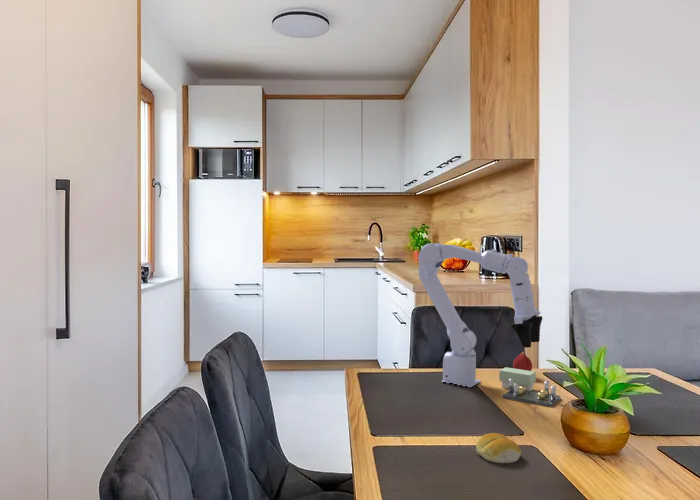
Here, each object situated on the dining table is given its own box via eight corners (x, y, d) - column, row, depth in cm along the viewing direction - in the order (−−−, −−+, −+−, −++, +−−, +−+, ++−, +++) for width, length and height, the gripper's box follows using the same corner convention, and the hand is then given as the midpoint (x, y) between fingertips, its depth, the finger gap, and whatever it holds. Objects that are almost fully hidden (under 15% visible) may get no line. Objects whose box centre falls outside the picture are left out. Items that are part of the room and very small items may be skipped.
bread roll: (504, 445, 111) (504, 426, 111) (527, 462, 102) (527, 442, 102) (468, 448, 109) (468, 429, 109) (488, 466, 101) (489, 445, 100)
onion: (512, 378, 164) (513, 353, 164) (512, 373, 169) (512, 349, 169) (532, 379, 162) (532, 354, 162) (531, 375, 168) (531, 350, 167)
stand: (502, 387, 154) (502, 380, 154) (506, 384, 157) (506, 377, 157) (529, 391, 149) (529, 384, 149) (532, 389, 152) (532, 382, 152)
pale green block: (499, 380, 154) (499, 370, 154) (505, 377, 158) (505, 367, 158) (530, 385, 148) (530, 375, 148) (535, 381, 152) (535, 371, 152)
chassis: (502, 397, 144) (502, 382, 143) (513, 390, 151) (513, 375, 151) (551, 407, 136) (551, 390, 136) (560, 398, 143) (560, 383, 143)
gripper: (528, 299, 143) (537, 349, 142) (544, 293, 155) (552, 338, 154) (503, 302, 147) (512, 350, 146) (520, 296, 159) (528, 340, 158)
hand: (531, 344), depth 150 cm, fingers open, 7 cm apart
